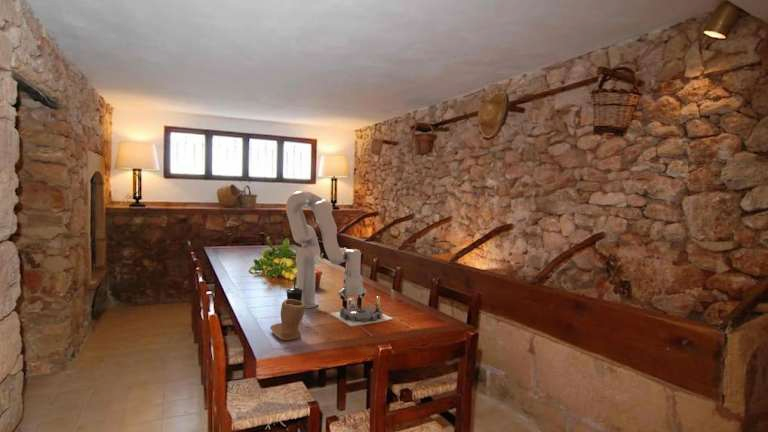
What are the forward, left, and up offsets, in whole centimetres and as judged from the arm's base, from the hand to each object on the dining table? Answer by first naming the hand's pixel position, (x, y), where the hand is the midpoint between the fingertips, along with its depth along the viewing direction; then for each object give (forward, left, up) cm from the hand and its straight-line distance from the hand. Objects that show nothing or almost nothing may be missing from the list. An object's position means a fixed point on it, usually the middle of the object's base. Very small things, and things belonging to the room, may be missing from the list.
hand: (352, 306), depth 219 cm
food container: (-2, +52, -1) cm, 52 cm away
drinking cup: (-33, -4, -1) cm, 33 cm away
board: (-3, -15, -1) cm, 15 cm away
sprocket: (-3, -15, -1) cm, 15 cm away
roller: (0, 0, -1) cm, 1 cm away
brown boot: (-43, -24, -1) cm, 49 cm away
